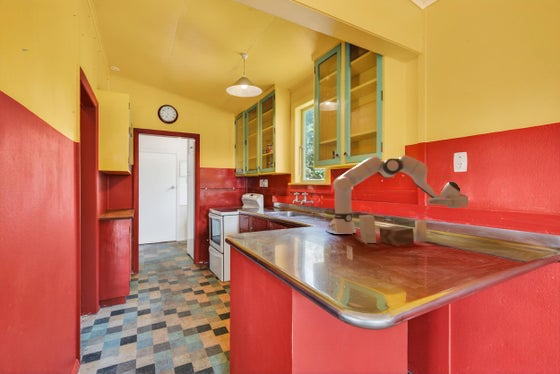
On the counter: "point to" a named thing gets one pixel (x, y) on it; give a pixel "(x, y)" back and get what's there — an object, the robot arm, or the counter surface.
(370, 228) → the skincare box
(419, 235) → the cream canister
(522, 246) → the counter surface
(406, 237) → the walnut base
